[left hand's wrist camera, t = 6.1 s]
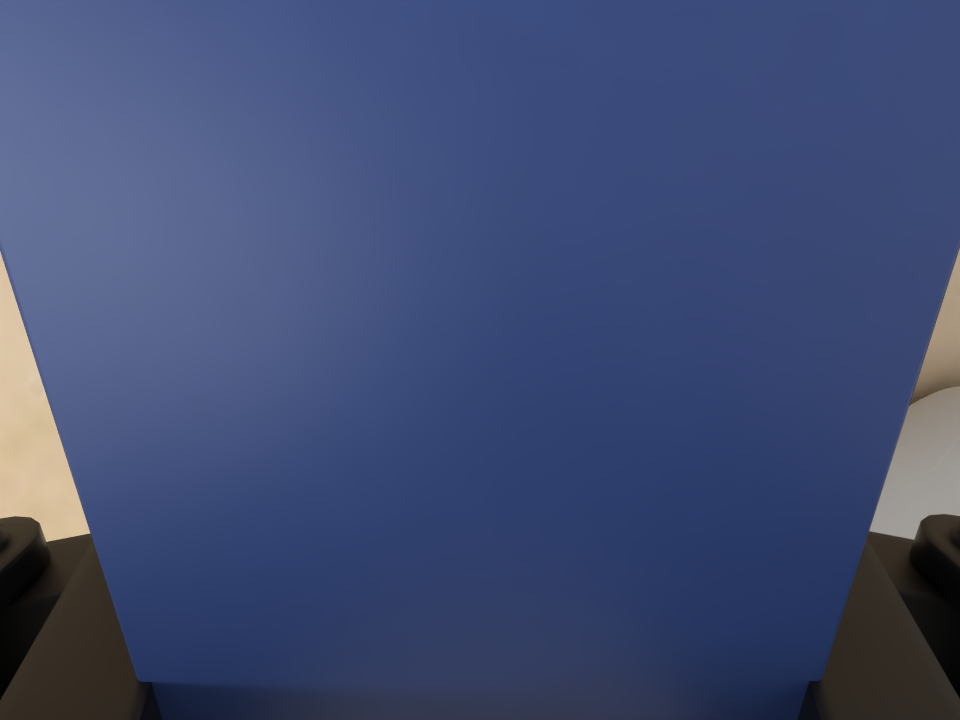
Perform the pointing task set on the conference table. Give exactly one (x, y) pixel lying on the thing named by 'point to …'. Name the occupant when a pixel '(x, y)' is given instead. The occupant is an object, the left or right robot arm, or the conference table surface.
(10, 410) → the conference table surface
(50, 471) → the conference table surface
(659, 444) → the box
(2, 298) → the conference table surface
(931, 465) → the projector
